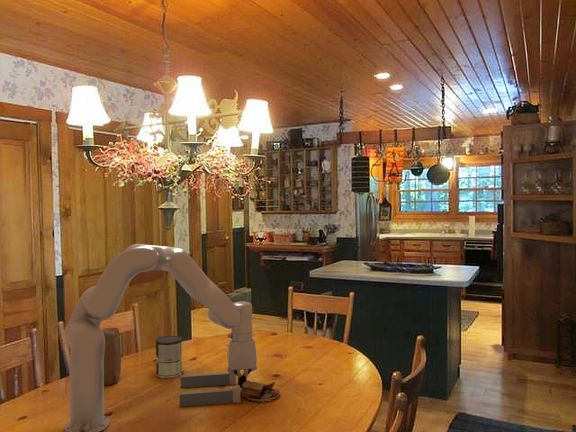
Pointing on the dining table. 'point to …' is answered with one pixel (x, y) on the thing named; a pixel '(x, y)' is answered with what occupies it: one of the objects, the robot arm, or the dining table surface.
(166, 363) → the coffee can
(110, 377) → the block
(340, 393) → the dining table surface
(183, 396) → the chute
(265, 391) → the toy sandwich meal
